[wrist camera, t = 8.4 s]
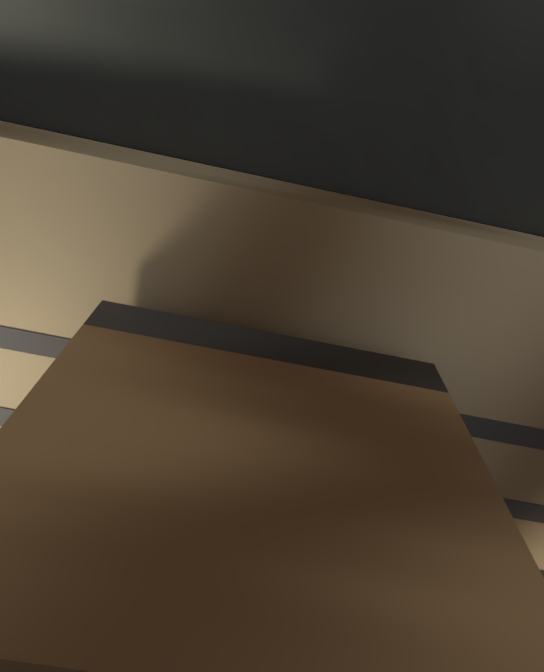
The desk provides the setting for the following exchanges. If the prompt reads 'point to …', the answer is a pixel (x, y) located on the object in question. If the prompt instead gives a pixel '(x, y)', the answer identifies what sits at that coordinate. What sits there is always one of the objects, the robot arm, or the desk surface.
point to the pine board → (275, 280)
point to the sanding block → (252, 512)
